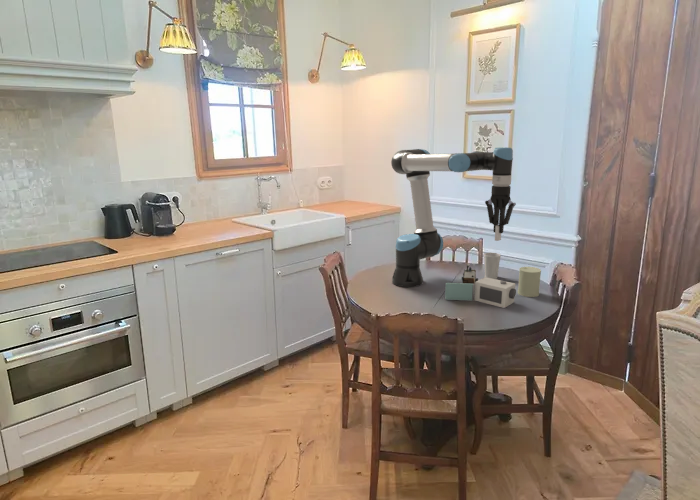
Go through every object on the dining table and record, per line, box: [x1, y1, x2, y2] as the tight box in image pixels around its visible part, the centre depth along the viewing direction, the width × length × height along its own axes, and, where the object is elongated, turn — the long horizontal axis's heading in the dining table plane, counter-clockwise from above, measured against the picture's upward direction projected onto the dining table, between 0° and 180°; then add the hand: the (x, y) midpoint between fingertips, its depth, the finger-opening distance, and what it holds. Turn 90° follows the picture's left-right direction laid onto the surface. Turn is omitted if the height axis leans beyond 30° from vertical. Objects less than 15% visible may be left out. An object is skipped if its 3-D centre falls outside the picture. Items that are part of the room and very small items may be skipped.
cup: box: [483, 252, 501, 280], centre depth 230 cm, size 8×8×12 cm
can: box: [517, 266, 542, 298], centre depth 206 cm, size 9×9×12 cm
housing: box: [474, 276, 517, 309], centre depth 198 cm, size 15×9×9 cm, turn 46°
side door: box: [444, 282, 475, 301], centre depth 201 cm, size 12×2×8 cm, turn 80°
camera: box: [461, 263, 479, 284], centre depth 217 cm, size 15×8×10 cm, turn 161°
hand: (497, 240), depth 197 cm, fingers closed
